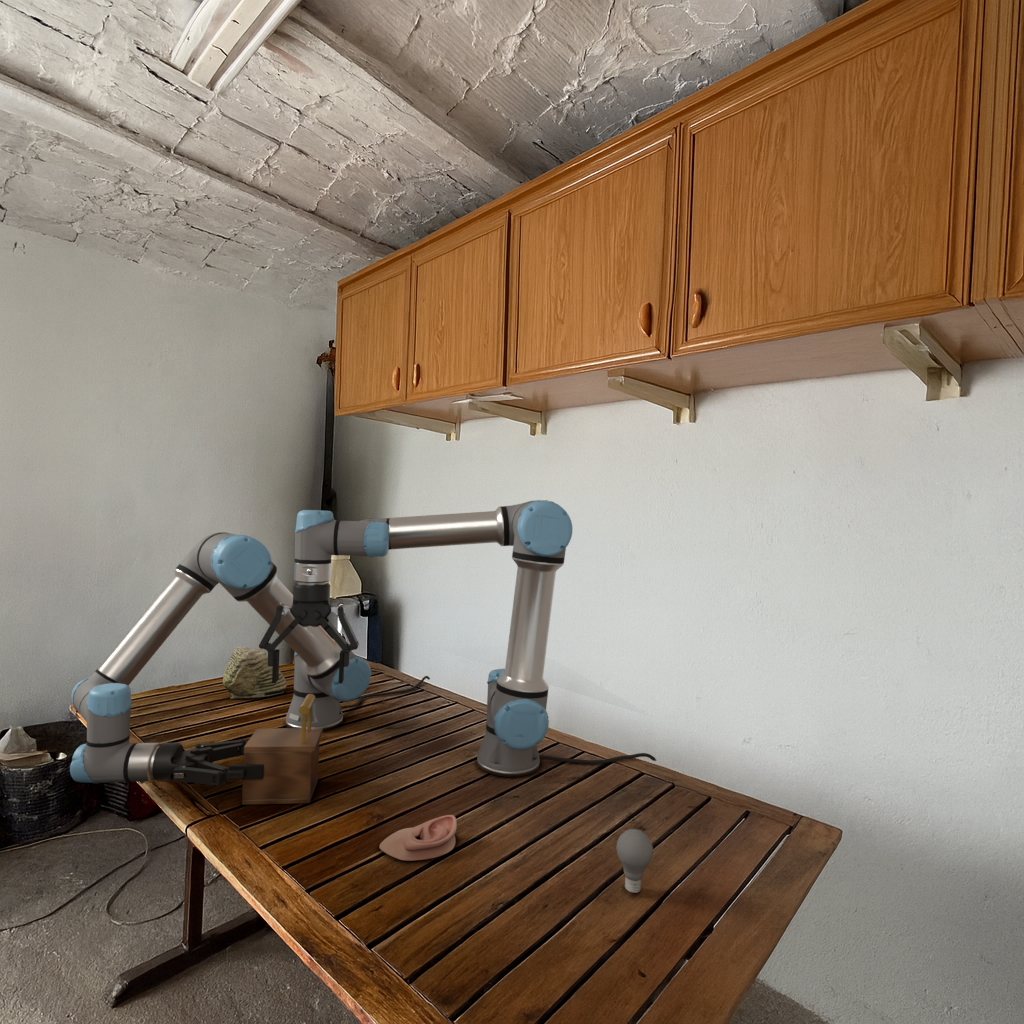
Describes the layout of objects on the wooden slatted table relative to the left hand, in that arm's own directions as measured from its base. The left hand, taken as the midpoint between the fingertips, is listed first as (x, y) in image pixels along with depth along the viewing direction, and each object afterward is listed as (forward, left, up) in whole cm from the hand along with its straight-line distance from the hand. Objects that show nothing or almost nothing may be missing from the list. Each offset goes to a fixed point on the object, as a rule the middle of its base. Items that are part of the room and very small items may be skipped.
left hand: (269, 760), depth 134 cm
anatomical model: (-8, +38, -7) cm, 40 cm away
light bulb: (-22, +74, -7) cm, 78 cm away
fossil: (-32, -62, -7) cm, 70 cm away
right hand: (-5, +5, +17) cm, 18 cm away
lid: (-2, +2, +4) cm, 5 cm away
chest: (-2, +2, -7) cm, 7 cm away
